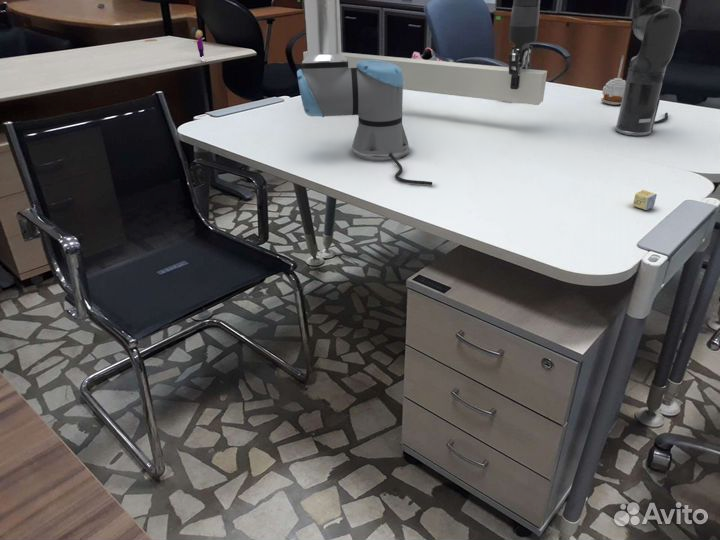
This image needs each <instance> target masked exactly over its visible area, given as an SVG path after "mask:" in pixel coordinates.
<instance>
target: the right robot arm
mask: <svg viewBox="0 0 720 540" xmlns="http://www.w3.org/2000/svg"><path fill="white" fill-rule="evenodd" d="M512 1H513V2H512V8H511V13H510V21H509V31H508V41H509V43H512V44H514V45H513V49H512V51H511V52H510V53H509V55H508V67H509V74H511V75H512V76H511V85H510V88H511V89H518V88H519V80H520V74H521V68H522V69H530V66H531V65H530V64H531V58H532V53H533V48H534V47H533V45H530V44H533V43H536V42H537V39H538V31H539V22H540V8H541V0H512ZM681 17H682V16H681V14H680V12H679V11H678V10H677V9H675V8H673V7H670V6H665V4H664V0H632V19H631V21H632V23H631V24H632V31H633V34H634V35H635V37H636V38H637V39H638V40H639V41H641V45H640V49H639V52H638V54H637V55H635V56H633V57H632V58H631V59H630V61H629V65H628V70H627V75H626V79H625V82H626V83H625V88H624V93H623V98H622V102H621V104H620V108H619V111H618V115H617V116H618V117H617V121H616V125H615V129H614V130H615V131H616V132H617V133H618V134H622V135H625V136H634V137H642V136H643V137H644V136H648V135H650V134H651V132H652V131H653V129H654V126H655V125H657V124H661V123H663V122H664V121H666V120H667V119H668V118H669V113H668V112H665V113H664V117H663V118H661V119H659V120H658V119H657V120H656V117H657V114H658V109H659V105H660V100H661V98H660V94H661V90H662V86H663V81H664V78H665V74H666V70H667V66H668V65H669V63H670V62H671V60H672V58H673V55H674V52H675V48H676V45H677V42H678V39H679V36H680V32H681V26H682V25H681V24H682V18H681ZM514 68H516V70H514Z"/></svg>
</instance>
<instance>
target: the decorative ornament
mask: <svg viewBox="0 0 720 540" xmlns="http://www.w3.org/2000/svg"><path fill="white" fill-rule="evenodd" d="M624 59H625V55H622V56H621V59H620V64H619V69H618V74H617V77H614V78H613V79H609V80H608V81H607V82H606V83H605V85H604V86H603V88H602V96H603V97H601V99H600V101H601V102H603V103H605V104H608V105H612V106H613V105H615V106H618V105H621V102H622V98H623V93H624V88H625V83H626V79H623V78H622V77H621V73H622V69H623V64H624Z"/></svg>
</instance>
